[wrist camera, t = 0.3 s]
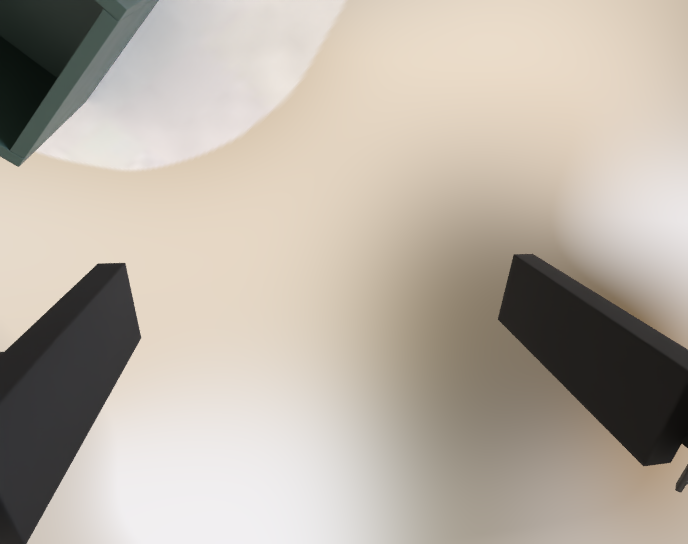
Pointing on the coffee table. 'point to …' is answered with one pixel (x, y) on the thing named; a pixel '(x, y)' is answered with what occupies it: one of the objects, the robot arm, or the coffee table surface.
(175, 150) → the coffee table surface
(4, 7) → the bin
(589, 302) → the robot arm
